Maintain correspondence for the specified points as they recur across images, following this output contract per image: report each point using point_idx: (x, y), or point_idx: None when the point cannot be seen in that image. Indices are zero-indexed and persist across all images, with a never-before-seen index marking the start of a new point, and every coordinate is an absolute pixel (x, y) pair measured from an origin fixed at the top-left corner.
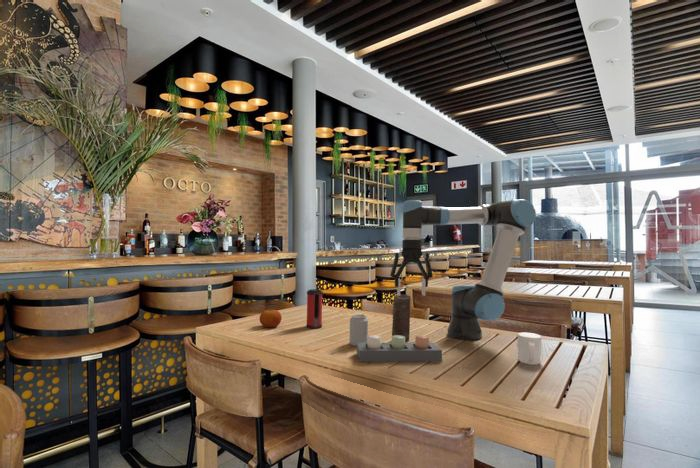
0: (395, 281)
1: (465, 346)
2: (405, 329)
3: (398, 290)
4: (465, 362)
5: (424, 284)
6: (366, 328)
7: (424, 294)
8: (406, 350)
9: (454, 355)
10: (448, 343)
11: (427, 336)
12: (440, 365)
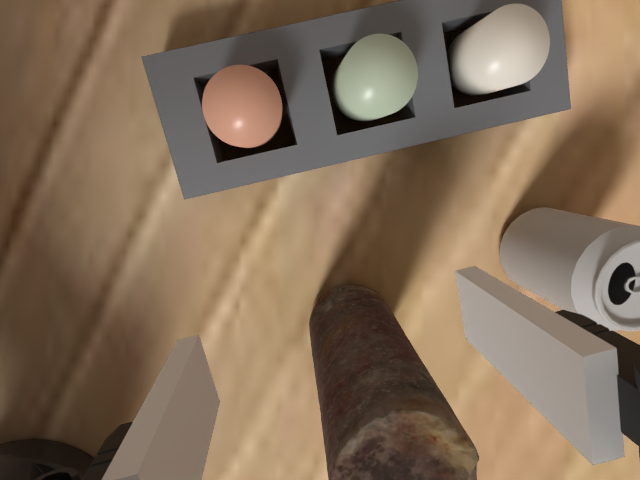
0: (629, 342)
1: (39, 331)
2: (335, 314)
3: (504, 283)
4: (45, 74)
5: (150, 415)
6: (550, 247)
7: (184, 344)
8: (327, 16)
9: (96, 174)
10: (121, 361)
11: (211, 124)
12: (165, 6)
